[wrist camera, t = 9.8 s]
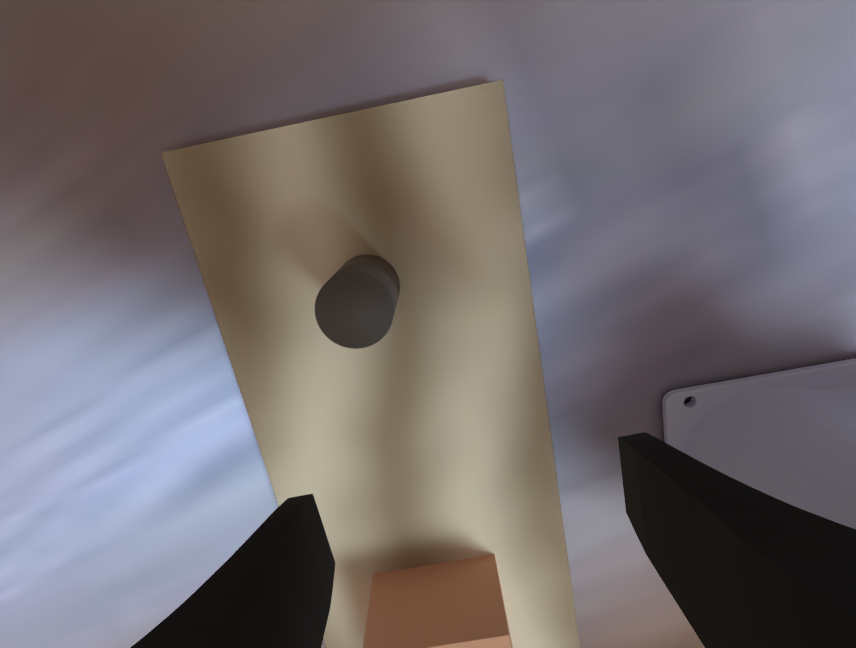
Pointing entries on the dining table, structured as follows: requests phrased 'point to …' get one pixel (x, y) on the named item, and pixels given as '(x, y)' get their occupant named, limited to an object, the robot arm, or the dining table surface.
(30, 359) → the dining table surface
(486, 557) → the collar
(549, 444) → the board
